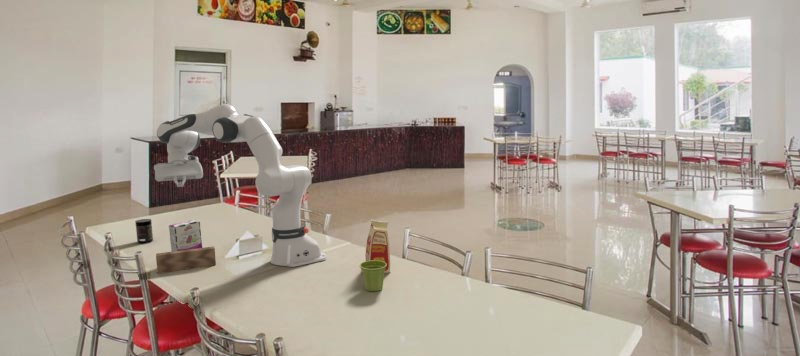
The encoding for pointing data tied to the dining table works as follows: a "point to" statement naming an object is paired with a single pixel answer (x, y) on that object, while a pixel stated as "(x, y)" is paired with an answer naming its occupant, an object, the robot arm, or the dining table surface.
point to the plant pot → (373, 274)
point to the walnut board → (185, 259)
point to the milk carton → (378, 244)
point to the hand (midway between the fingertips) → (180, 186)
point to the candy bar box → (185, 235)
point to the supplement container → (144, 231)
